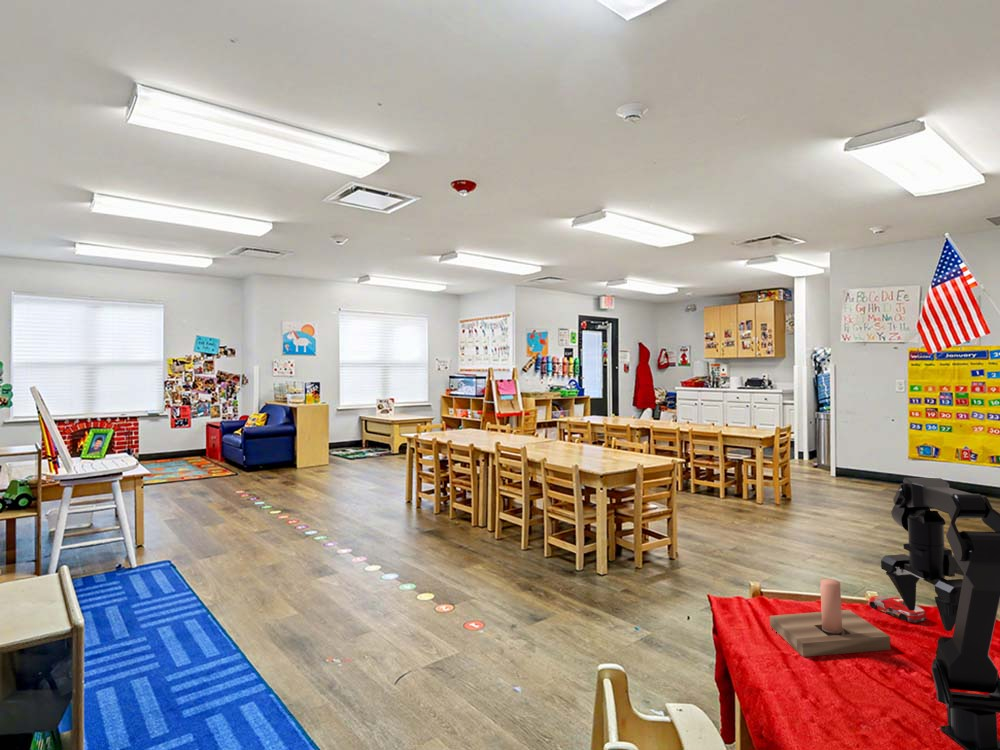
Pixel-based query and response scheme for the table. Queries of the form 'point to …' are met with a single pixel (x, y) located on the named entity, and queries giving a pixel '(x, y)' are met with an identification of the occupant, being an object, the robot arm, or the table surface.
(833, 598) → the peg
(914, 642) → the table surface
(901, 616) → the race car
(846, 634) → the board
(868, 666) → the table surface
